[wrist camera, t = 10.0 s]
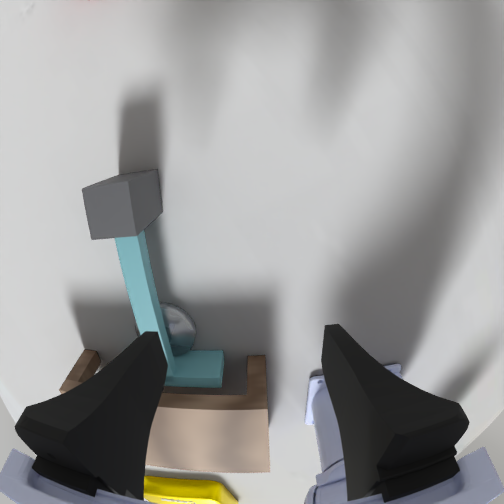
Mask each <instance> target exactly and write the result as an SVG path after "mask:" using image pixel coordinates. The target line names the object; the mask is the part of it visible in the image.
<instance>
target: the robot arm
mask: <svg viewBox="0 0 504 504" xmlns="http://www.w3.org/2000/svg"><path fill="white" fill-rule="evenodd" d="M321 362H322V368H323V373H324V375H322V376H314V377H311V378H310V380H309V388H308V397H307V406H306V414H305V424H307V425H311V424H314V426H315V432H316V438H317V444H318V450H319V456H320V462H321V468H322V473H321V474H318V475H316V481H317V485H314V486H312V487H311V488H310V489H309V491H308V494H307V496H306V498H305V502H304V504H488V503H489V502H491V501H492V500H493V499H495V498H496V497H498V496H499V495H500V494H502V493H503V492H504V488H503V485H502V483H501V480H500V478H499V476H498V474H497V471H496V469H495V467H494V465H493V463H492V461H491V459H490V457H489V455H488V453H487V451H486V449H485V447H482V448H480V449H478V450H476V451H474V452H472V453H470V454H468V455H466V456H464V457H462V458H461V459H459V460H458V461H457V462H456V460H455V457H454V456H455V455H456V454H457V451H456V449H455V447H454V446H455V444H456V443H457V442H458V441H459V439H460V438H461V437H462V436H463V434H464V433H465V432H466V430H467V428H468V425H469V420H468V418H467V416H466V414H465V412H464V411H463V409H462V407H461V406H460V404H459V403H456V402H453V401H450V400H447V399H443V398H440V397H438V396H435V395H433V394H430V393H428V392H426V391H423V390H421V389H419V388H417V387H415V386H413V385H412V384H410V383H408V382H406V381H404V380H403V378H402V376H401V374H400V370H401V366H400V364H393V365H388V366H382V365H381V364H380V363H379V362H377V361H376V360H375V359H374V358H373V357H372V356H370V355H369V354H368V353H367V352H366V351H365V350H364V349H363V348H362V347H361V346H360V345H359V344H358V343H357V342H356V341H355V340H354V339H353V338H352V337H351V336H350V335H349V334H348V333H347V332H346V331H345V330H344V329H343V328H342V327H341V326H340V325H339V324H334V325H325V330H324V340H323V349H322V358H321ZM167 369H168V363H167V360H166V357H165V354H164V351H163V347H162V344H161V341H160V337H159V334H158V331H145V332H144V333H143V334H141V335H140V336H139V337H138V338H137V339H136V340H135V341H134V342H133V343H132V344H131V345H130V346H128V347H127V348H126V349H125V350H124V351H123V352H122V353H121V354H120V355H119V356H117V357H116V358H115V359H114V360H113V361H112V362H110V363H109V364H108V365H107V366H105V367H104V368H103V369H102V370H101V371H99V372H98V373H97V374H95V375H94V376H92V377H91V378H89V379H88V380H86V381H85V382H83V383H82V384H80V385H78V386H76V387H74V388H73V389H71V390H69V391H67V392H65V393H63V394H61V395H59V396H57V397H54V398H52V399H49V400H47V401H44V402H41V403H38V404H34V405H31V406H27V407H26V408H25V410H24V412H23V413H22V415H21V417H20V418H19V420H18V422H17V423H16V425H15V430H16V432H17V434H18V436H19V437H20V438H21V439H22V440H23V441H24V442H25V443H26V444H27V446H28V447H29V448H30V449H31V450H33V452H34V453H35V454H36V455H37V457H36V460H34V459H33V458H31V457H30V456H28V455H26V454H24V453H22V452H20V451H18V450H16V449H12V451H11V453H10V455H9V457H8V459H7V461H6V463H5V465H4V467H3V469H2V471H1V473H0V492H2V493H3V494H4V495H6V496H7V497H9V498H10V499H12V500H13V501H14V502H16V503H17V504H158V503H152V502H147V501H144V475H145V463H146V455H147V447H148V441H149V435H150V430H151V426H152V422H153V419H154V416H155V413H156V410H157V407H158V404H159V401H160V397H161V394H162V391H163V388H164V385H165V380H166V375H167ZM319 380H320V381H319Z"/></svg>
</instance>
